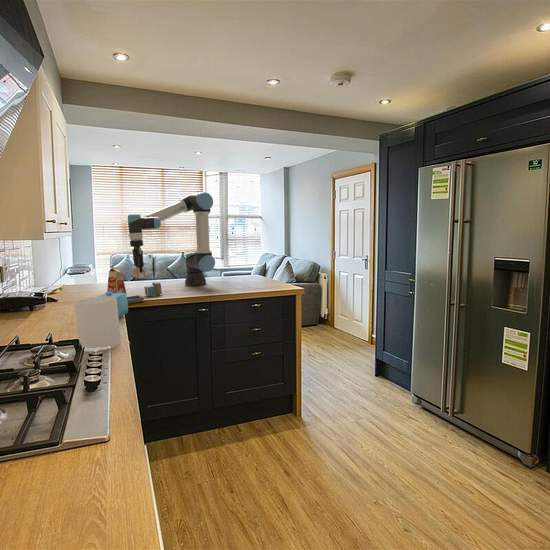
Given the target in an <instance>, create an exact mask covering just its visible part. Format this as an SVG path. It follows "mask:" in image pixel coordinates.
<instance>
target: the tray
mask: <svg viewBox="0 0 550 550" xmlns="http://www.w3.org/2000/svg"><path fill="white" fill-rule="evenodd" d="M142 300H144V301H145V297H144V296H142V295H131V296H127V303H128V305H132V304H137V303H136V302H137V301H142Z"/></svg>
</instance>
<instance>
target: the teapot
mask: <svg viewBox="0 0 550 550" xmlns="http://www.w3.org/2000/svg"><path fill="white" fill-rule="evenodd" d="M121 292H122V290H120V291H118V293H112V292H111V291H110V292H107V291H106V292H105V293H103V294H100V295H98V296H96V297H101V296H112V297H116V298H117V308H118V317H119V319H125V316H124V315H126V314H128V313H129V304H128V303H127V297H128V296H127V295H128V294H127V292H126V293H121Z"/></svg>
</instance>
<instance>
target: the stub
mask: <svg viewBox="0 0 550 550" xmlns="http://www.w3.org/2000/svg"><path fill="white" fill-rule="evenodd" d="M133 273H134V279H137V280H138V279H140V278H139V274H138V268H135V267H134V268H133ZM143 275H144V278H143V279H146V269H145V267H143Z"/></svg>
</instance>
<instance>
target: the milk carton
mask: <svg viewBox="0 0 550 550" xmlns="http://www.w3.org/2000/svg"><path fill="white" fill-rule="evenodd" d="M107 278H108V279H107V290H106V292H110V291H111V292H112V293H118V291H120V290H122V292H121V293H127V289H126V284H125V280H124V276H123V273H122V271H121V270H120V269H119V267H113V266H111V267H110V270H109V271H108V277H107Z"/></svg>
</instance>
